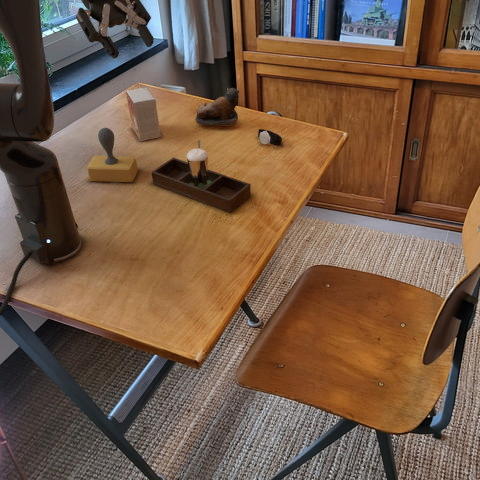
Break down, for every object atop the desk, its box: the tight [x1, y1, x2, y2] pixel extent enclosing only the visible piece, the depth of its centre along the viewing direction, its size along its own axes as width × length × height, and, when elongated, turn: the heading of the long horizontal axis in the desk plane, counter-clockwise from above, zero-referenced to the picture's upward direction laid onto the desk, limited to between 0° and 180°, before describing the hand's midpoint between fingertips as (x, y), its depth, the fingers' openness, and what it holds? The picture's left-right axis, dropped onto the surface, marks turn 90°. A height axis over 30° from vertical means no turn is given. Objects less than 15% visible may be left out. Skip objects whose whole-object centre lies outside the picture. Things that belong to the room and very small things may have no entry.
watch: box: [257, 128, 283, 147], centre depth 146 cm, size 8×5×4 cm, turn 41°
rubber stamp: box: [86, 127, 139, 183], centre depth 131 cm, size 10×6×12 cm, turn 87°
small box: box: [125, 86, 162, 142], centre depth 148 cm, size 8×6×10 cm
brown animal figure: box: [195, 87, 240, 127], centre depth 152 cm, size 12×7×10 cm, turn 85°
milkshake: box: [186, 139, 209, 189], centre depth 127 cm, size 4×5×10 cm
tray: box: [150, 157, 252, 214], centre depth 130 cm, size 8×22×3 cm, turn 58°
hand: (134, 50), depth 117 cm, fingers open, 8 cm apart
